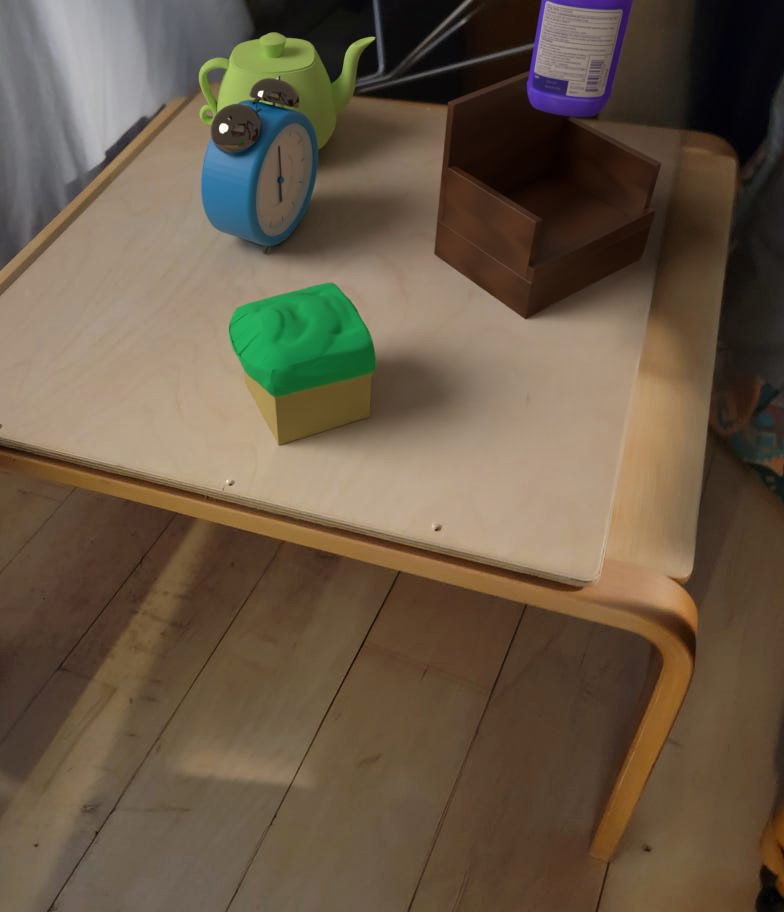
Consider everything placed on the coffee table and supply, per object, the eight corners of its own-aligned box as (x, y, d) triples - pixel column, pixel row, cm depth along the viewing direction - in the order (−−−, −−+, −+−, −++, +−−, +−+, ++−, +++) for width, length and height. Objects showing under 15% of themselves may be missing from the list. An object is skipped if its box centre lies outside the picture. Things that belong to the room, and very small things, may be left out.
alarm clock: (256, 273, 91) (244, 131, 80) (205, 256, 93) (187, 116, 82) (321, 208, 98) (318, 71, 87) (272, 194, 100) (264, 58, 89)
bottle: (613, 96, 80) (665, -132, 67) (605, 126, 77) (659, -108, 64) (530, 85, 82) (565, -138, 69) (519, 114, 78) (554, -116, 66)
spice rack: (642, 258, 91) (687, 103, 79) (524, 319, 85) (555, 162, 73) (547, 201, 98) (576, 52, 86) (433, 254, 92) (447, 101, 80)
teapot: (296, 101, 115) (292, -4, 106) (373, 141, 108) (377, 32, 98) (193, 145, 108) (179, 37, 99) (268, 191, 101) (260, 79, 91)
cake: (224, 382, 80) (212, 290, 73) (335, 350, 82) (335, 257, 75) (262, 457, 74) (254, 365, 66) (381, 420, 76) (386, 327, 69)
